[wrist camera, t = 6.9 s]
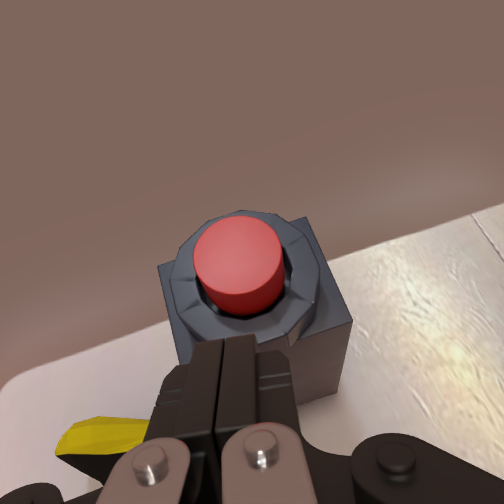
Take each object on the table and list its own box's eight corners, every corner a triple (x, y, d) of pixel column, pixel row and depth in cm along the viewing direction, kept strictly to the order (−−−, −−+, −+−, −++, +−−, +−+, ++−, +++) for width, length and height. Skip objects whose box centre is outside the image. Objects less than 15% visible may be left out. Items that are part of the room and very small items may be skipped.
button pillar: (307, 318, 37) (303, 188, 21) (338, 395, 34) (360, 310, 18) (215, 349, 37) (142, 241, 21) (238, 430, 34) (171, 374, 18)
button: (270, 232, 21) (265, 204, 19) (296, 300, 19) (294, 276, 17) (196, 257, 21) (183, 231, 19) (216, 327, 19) (204, 307, 17)
